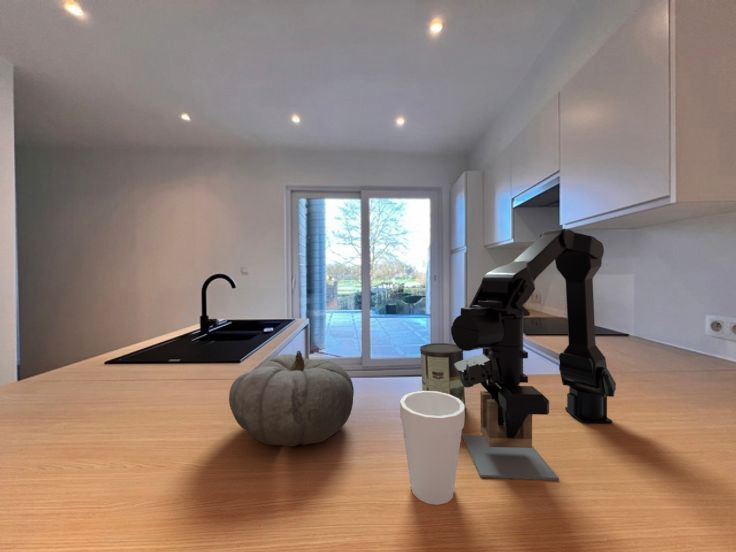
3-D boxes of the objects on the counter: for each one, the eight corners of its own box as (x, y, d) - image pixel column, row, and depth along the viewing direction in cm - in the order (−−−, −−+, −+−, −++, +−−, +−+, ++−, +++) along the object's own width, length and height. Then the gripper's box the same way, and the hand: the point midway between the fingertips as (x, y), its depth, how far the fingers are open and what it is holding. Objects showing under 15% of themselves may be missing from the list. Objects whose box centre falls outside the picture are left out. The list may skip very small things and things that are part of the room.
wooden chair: (489, 446, 52) (489, 402, 52) (480, 431, 57) (480, 391, 57) (532, 448, 51) (532, 403, 51) (519, 432, 56) (519, 391, 56)
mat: (524, 438, 60) (524, 436, 60) (558, 480, 48) (558, 477, 48) (462, 436, 60) (462, 434, 60) (480, 477, 48) (480, 474, 48)
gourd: (208, 467, 47) (224, 352, 50) (234, 420, 71) (243, 343, 74) (365, 459, 53) (370, 356, 56) (340, 418, 77) (345, 347, 80)
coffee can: (458, 396, 80) (456, 341, 80) (472, 413, 69) (469, 351, 69) (418, 397, 79) (416, 343, 79) (426, 415, 69) (424, 353, 69)
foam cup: (396, 470, 50) (395, 391, 50) (450, 467, 51) (450, 389, 51) (408, 516, 41) (408, 419, 41) (475, 511, 42) (475, 416, 41)
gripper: (448, 332, 64) (448, 406, 64) (472, 357, 45) (473, 462, 45) (503, 332, 63) (503, 407, 63) (551, 358, 44) (551, 464, 45)
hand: (505, 430), depth 54 cm, fingers closed on wooden chair, 4 cm apart
